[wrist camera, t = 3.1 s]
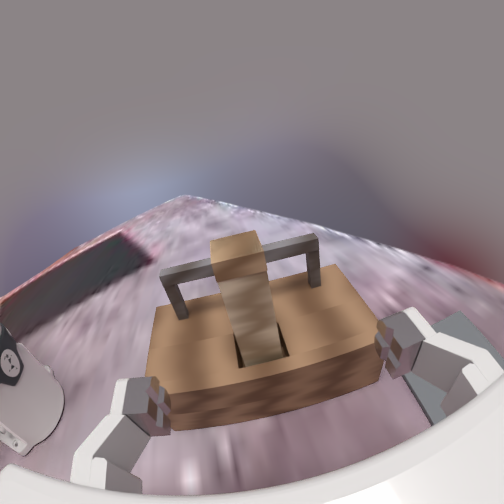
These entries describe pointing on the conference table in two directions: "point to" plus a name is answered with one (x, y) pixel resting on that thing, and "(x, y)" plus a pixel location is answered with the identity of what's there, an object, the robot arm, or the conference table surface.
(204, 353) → the toolbox
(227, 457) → the conference table surface
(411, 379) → the slate mat
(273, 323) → the wooden key
